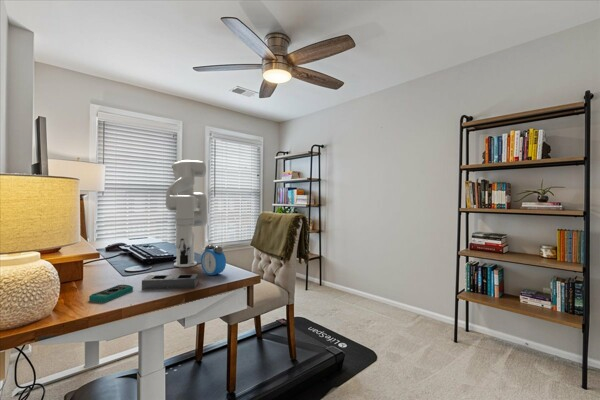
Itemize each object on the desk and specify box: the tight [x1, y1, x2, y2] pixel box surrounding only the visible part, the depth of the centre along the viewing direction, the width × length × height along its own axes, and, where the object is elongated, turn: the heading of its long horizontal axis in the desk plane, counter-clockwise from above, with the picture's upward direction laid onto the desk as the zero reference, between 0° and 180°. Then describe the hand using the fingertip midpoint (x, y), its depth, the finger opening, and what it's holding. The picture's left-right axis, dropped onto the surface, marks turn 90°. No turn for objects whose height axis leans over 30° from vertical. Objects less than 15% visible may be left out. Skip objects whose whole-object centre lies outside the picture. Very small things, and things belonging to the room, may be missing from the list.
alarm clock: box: [200, 244, 227, 277], centre depth 149 cm, size 13×6×15 cm, turn 56°
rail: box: [141, 273, 199, 290], centre depth 130 cm, size 8×22×4 cm, turn 98°
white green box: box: [178, 249, 191, 268], centre depth 130 cm, size 4×4×7 cm
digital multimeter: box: [88, 284, 134, 304], centre depth 117 cm, size 7×15×3 cm, turn 167°
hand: (185, 262), depth 130 cm, fingers closed on white green box, 4 cm apart
